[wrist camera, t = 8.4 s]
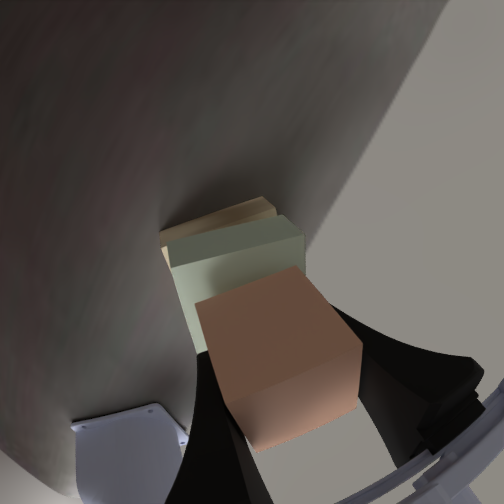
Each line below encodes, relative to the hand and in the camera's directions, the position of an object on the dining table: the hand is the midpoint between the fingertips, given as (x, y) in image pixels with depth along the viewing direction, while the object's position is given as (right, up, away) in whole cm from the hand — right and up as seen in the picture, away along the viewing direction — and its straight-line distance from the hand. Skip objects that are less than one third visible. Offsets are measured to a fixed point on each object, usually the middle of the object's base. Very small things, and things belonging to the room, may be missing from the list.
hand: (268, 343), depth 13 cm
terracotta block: (-1, +1, +1) cm, 1 cm away
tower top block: (-2, +2, +4) cm, 5 cm away
